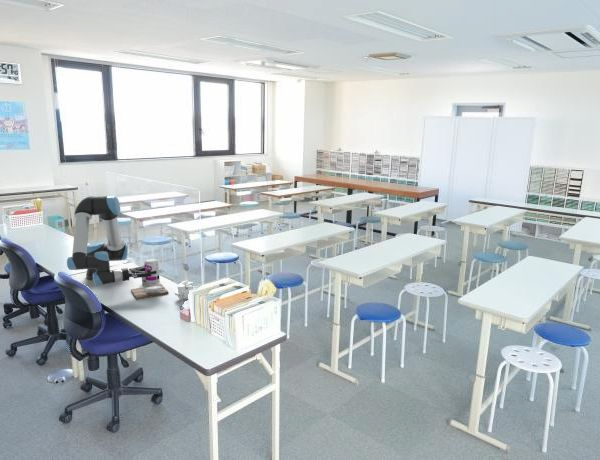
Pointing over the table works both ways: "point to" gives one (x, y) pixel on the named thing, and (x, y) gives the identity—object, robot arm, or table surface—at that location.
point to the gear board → (149, 291)
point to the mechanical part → (184, 289)
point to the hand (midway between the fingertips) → (159, 268)
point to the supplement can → (150, 265)
